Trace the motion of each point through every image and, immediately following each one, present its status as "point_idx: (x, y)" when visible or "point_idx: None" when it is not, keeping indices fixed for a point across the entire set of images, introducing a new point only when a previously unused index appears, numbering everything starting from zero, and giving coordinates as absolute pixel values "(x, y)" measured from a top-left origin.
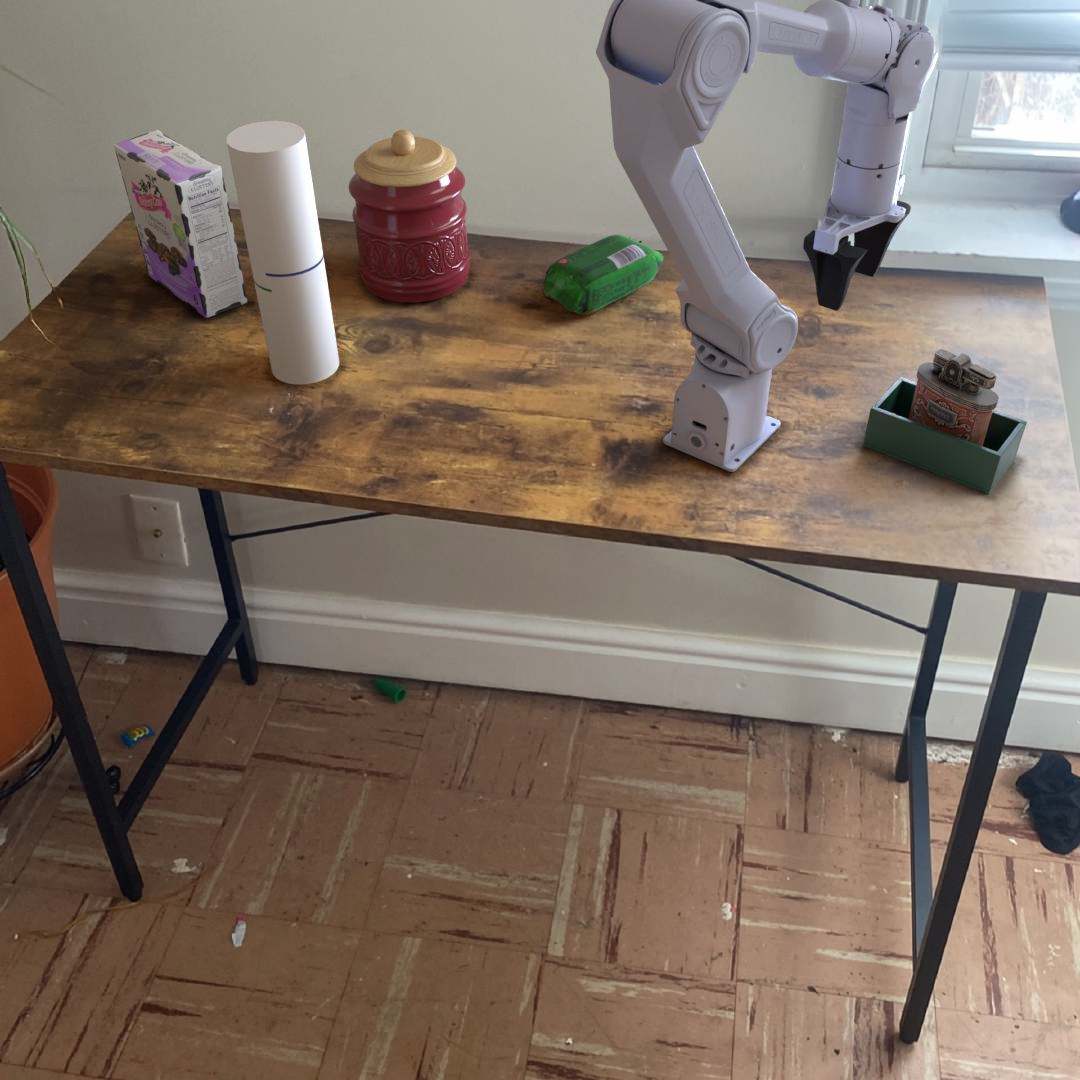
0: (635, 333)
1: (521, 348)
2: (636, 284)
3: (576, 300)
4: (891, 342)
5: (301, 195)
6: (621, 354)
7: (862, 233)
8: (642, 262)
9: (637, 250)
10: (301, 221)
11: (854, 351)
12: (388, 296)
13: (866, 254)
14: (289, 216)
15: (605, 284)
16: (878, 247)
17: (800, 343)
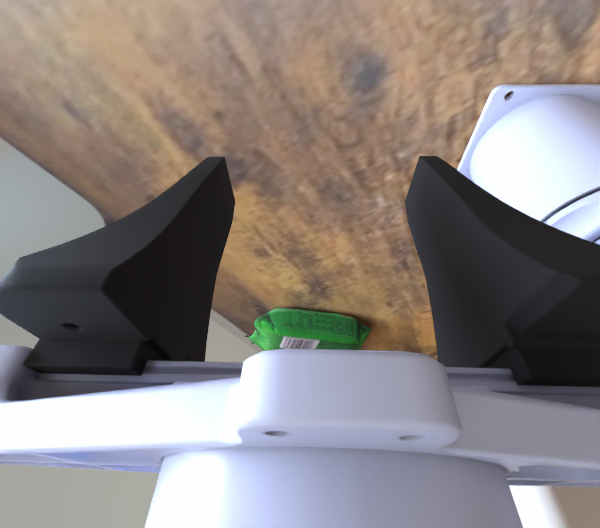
0: (352, 285)
1: (416, 323)
2: (300, 316)
3: (366, 335)
4: (146, 44)
5: (553, 523)
6: (392, 281)
7: (205, 277)
8: (292, 333)
9: (286, 343)
10: (546, 498)
11: (222, 89)
12: None
13: (215, 218)
14: (557, 507)
15: (339, 335)
16: (198, 214)
17: (263, 166)
